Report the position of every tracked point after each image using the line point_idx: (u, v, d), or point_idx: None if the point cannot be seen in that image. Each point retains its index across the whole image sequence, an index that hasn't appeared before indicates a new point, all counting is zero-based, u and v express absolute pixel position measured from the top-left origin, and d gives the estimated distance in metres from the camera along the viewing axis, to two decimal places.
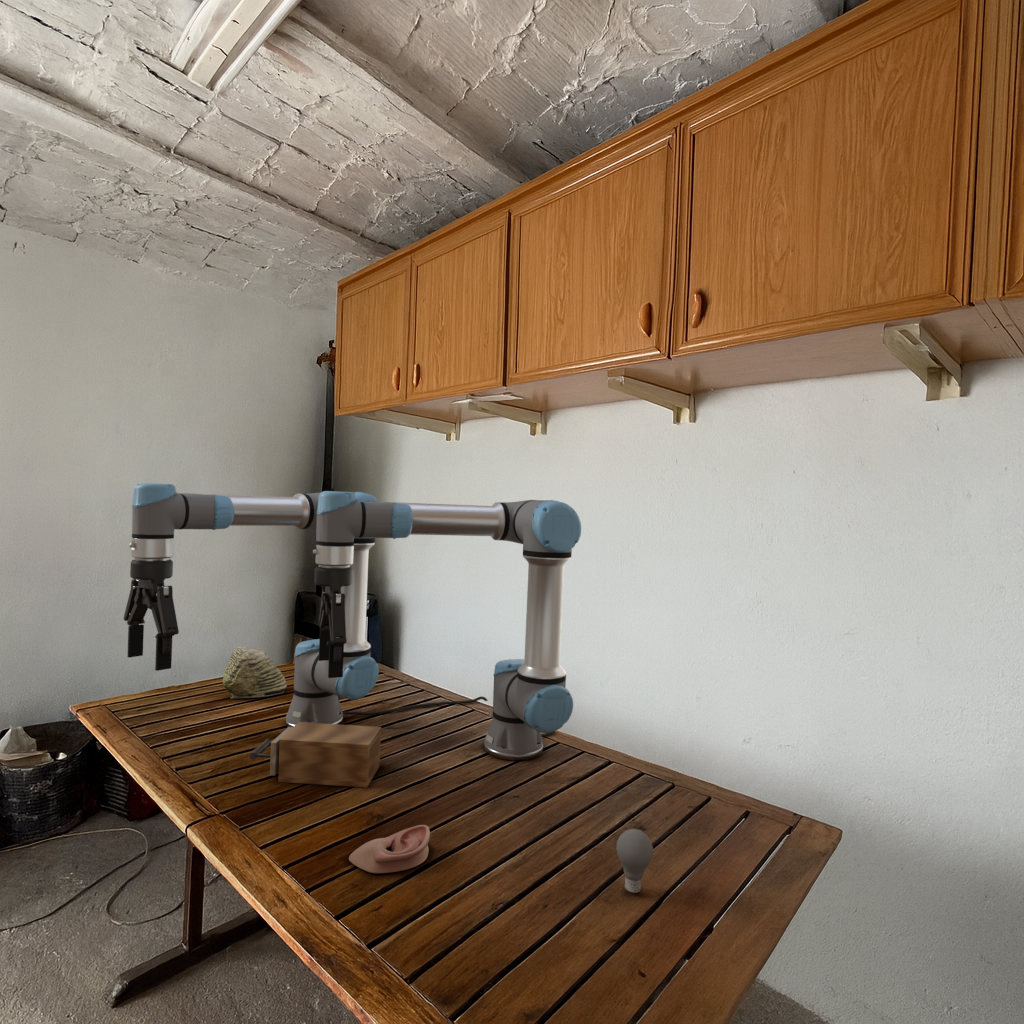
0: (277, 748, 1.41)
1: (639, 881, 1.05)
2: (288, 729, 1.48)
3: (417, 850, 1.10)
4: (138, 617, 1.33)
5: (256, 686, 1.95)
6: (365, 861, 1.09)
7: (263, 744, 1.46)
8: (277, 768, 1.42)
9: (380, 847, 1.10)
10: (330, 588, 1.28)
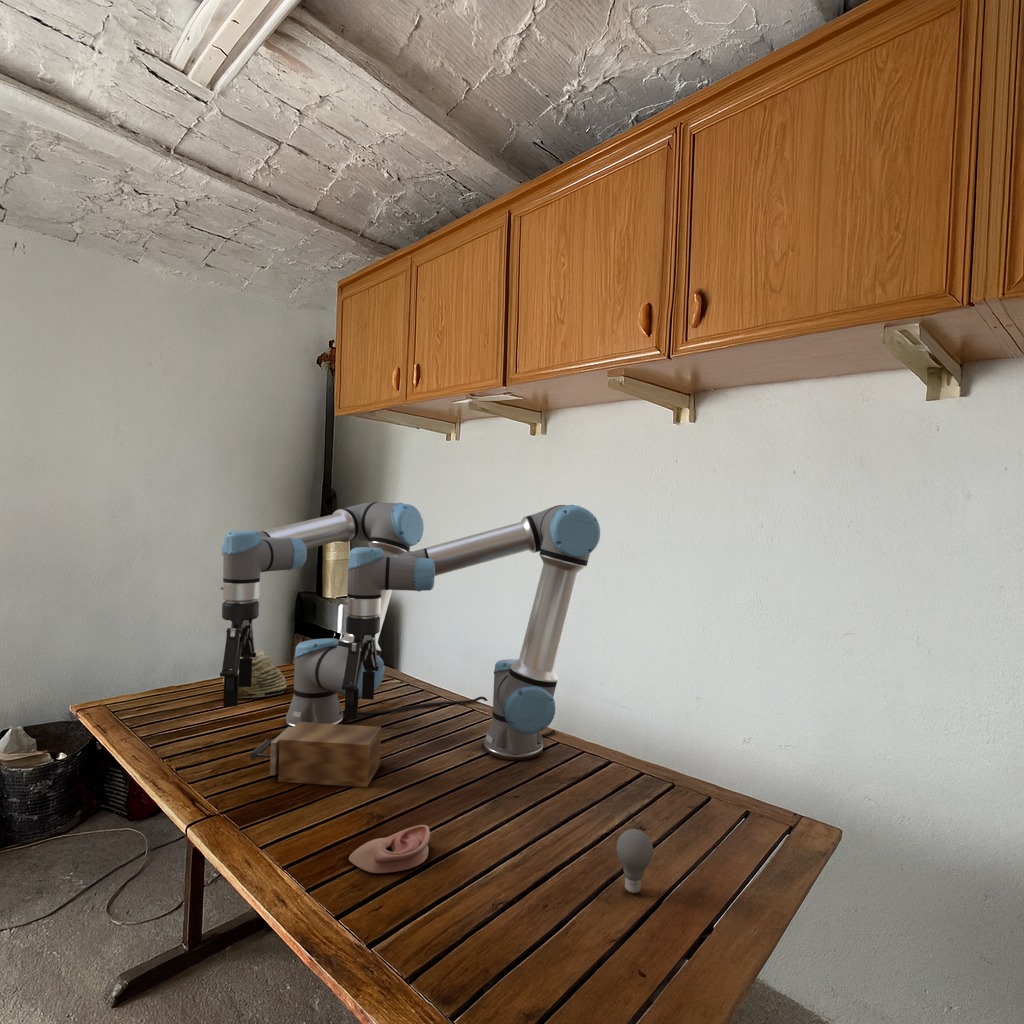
0: (277, 748, 1.41)
1: (639, 881, 1.05)
2: (288, 729, 1.48)
3: (417, 850, 1.10)
4: (245, 651, 1.46)
5: (256, 686, 1.95)
6: (365, 861, 1.09)
7: (263, 744, 1.46)
8: (277, 768, 1.42)
9: (380, 847, 1.10)
10: None
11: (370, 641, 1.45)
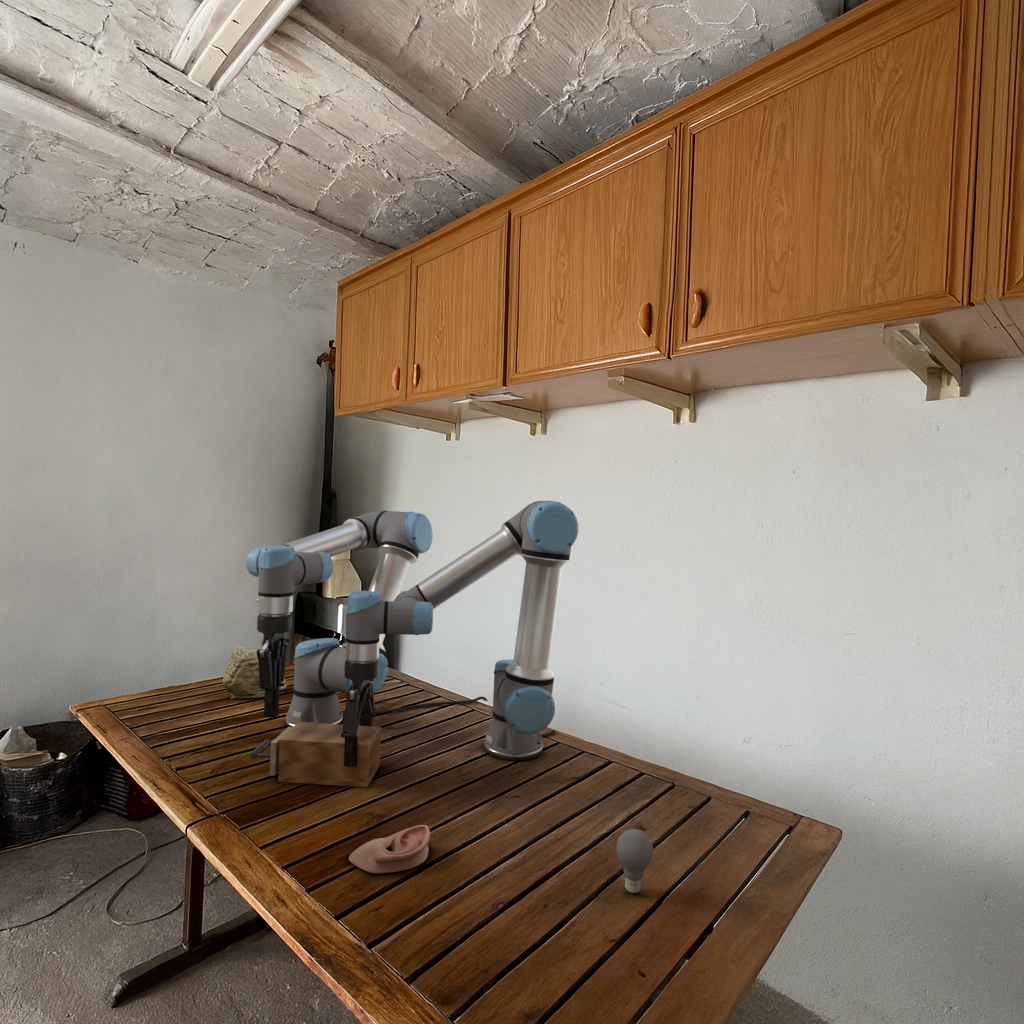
0: (277, 748, 1.41)
1: (639, 881, 1.05)
2: (288, 729, 1.48)
3: (417, 850, 1.10)
4: None
5: (256, 686, 1.95)
6: (365, 861, 1.09)
7: (263, 744, 1.46)
8: (277, 768, 1.42)
9: (380, 847, 1.10)
10: (352, 681, 1.41)
11: (368, 685, 1.45)
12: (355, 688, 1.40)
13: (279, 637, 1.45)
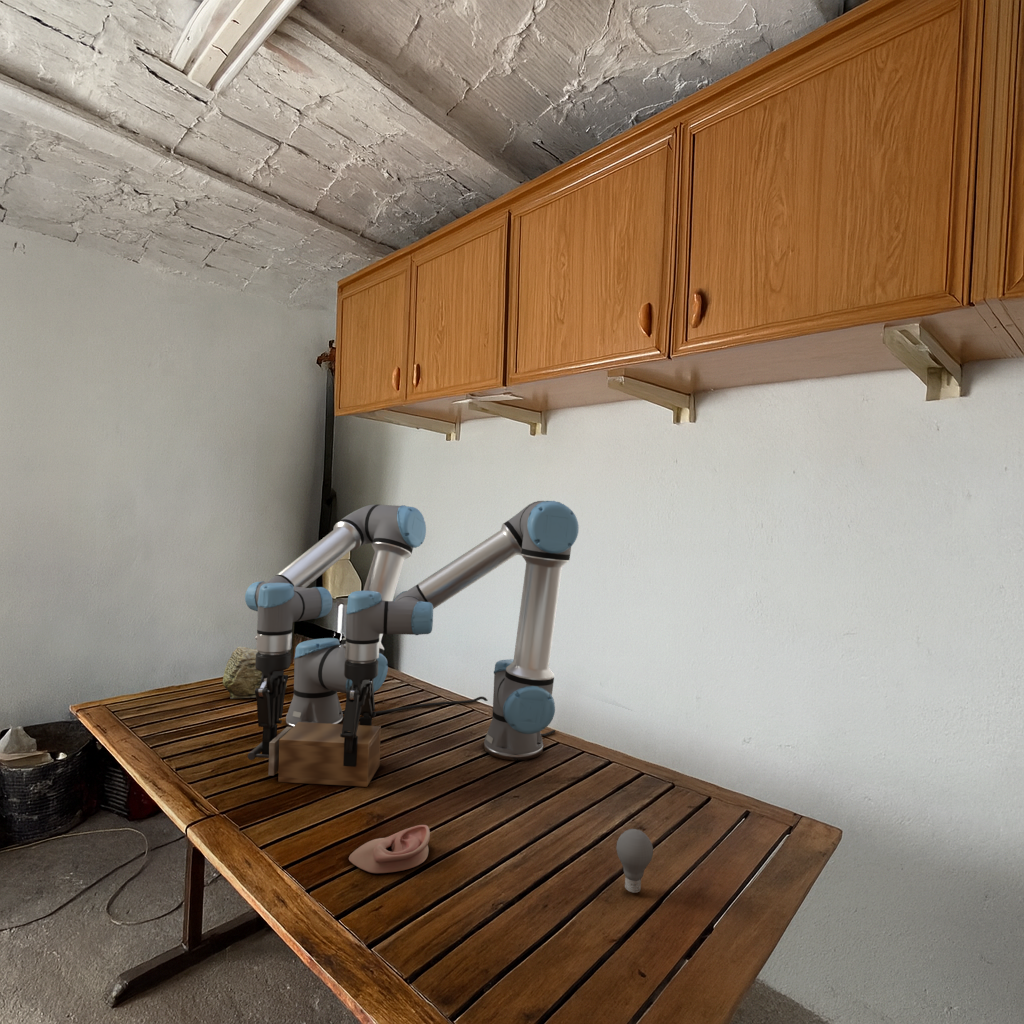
0: (275, 748, 1.41)
1: (639, 881, 1.05)
2: (286, 729, 1.48)
3: (417, 850, 1.10)
4: None
5: (256, 686, 1.95)
6: (365, 861, 1.09)
7: (261, 744, 1.46)
8: (276, 768, 1.42)
9: (380, 847, 1.10)
10: None
11: (368, 684, 1.45)
12: (355, 688, 1.40)
13: (277, 674, 1.45)
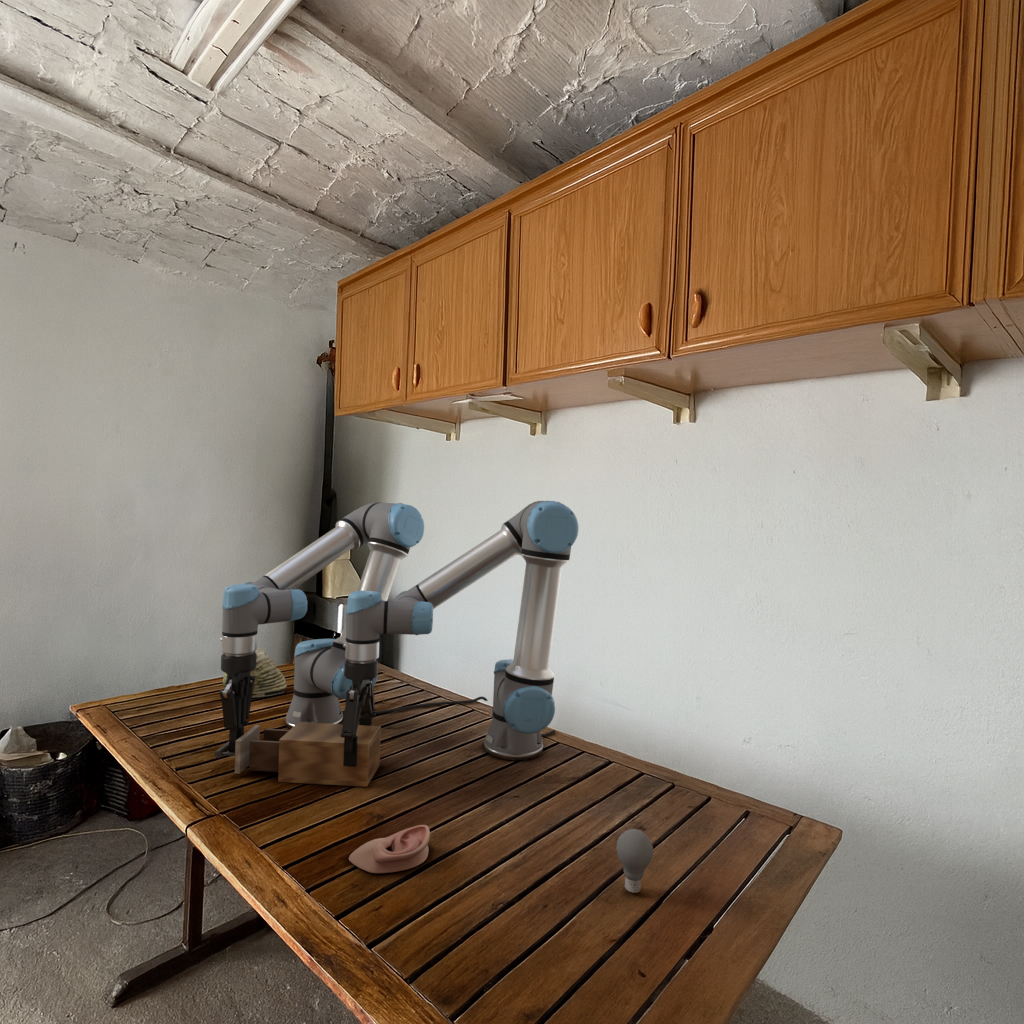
0: (242, 746, 1.42)
1: (639, 881, 1.05)
2: (254, 727, 1.49)
3: (417, 850, 1.10)
4: None
5: (256, 686, 1.95)
6: (365, 861, 1.09)
7: None
8: (242, 767, 1.42)
9: (380, 847, 1.10)
10: None
11: (368, 684, 1.45)
12: (355, 688, 1.40)
13: (243, 676, 1.46)
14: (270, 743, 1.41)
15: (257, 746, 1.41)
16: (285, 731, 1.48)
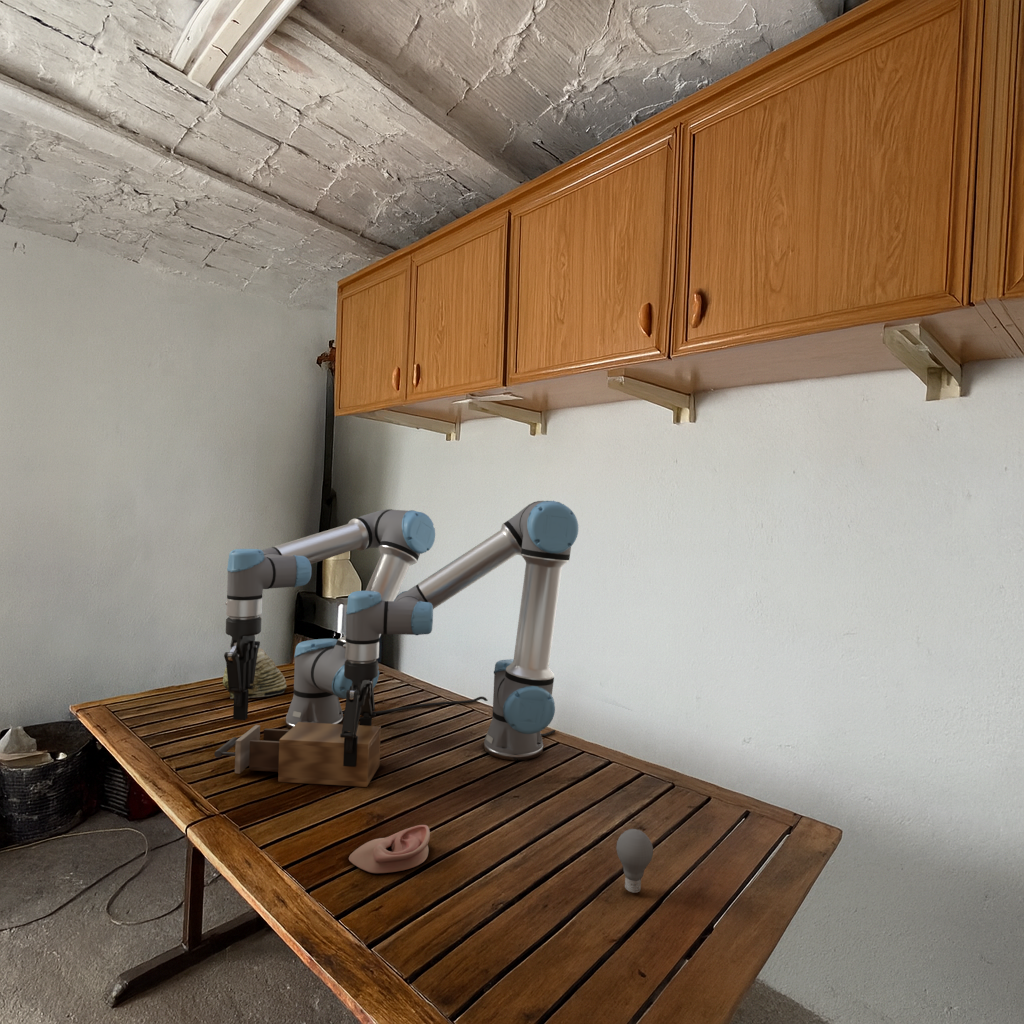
0: (242, 746, 1.42)
1: (639, 881, 1.05)
2: (255, 727, 1.49)
3: (417, 850, 1.10)
4: None
5: (256, 686, 1.95)
6: (365, 861, 1.09)
7: (229, 742, 1.47)
8: (242, 766, 1.42)
9: (380, 847, 1.10)
10: None
11: (368, 684, 1.45)
12: (355, 688, 1.40)
13: (248, 640, 1.46)
14: (270, 743, 1.41)
15: (257, 746, 1.41)
16: (285, 731, 1.49)
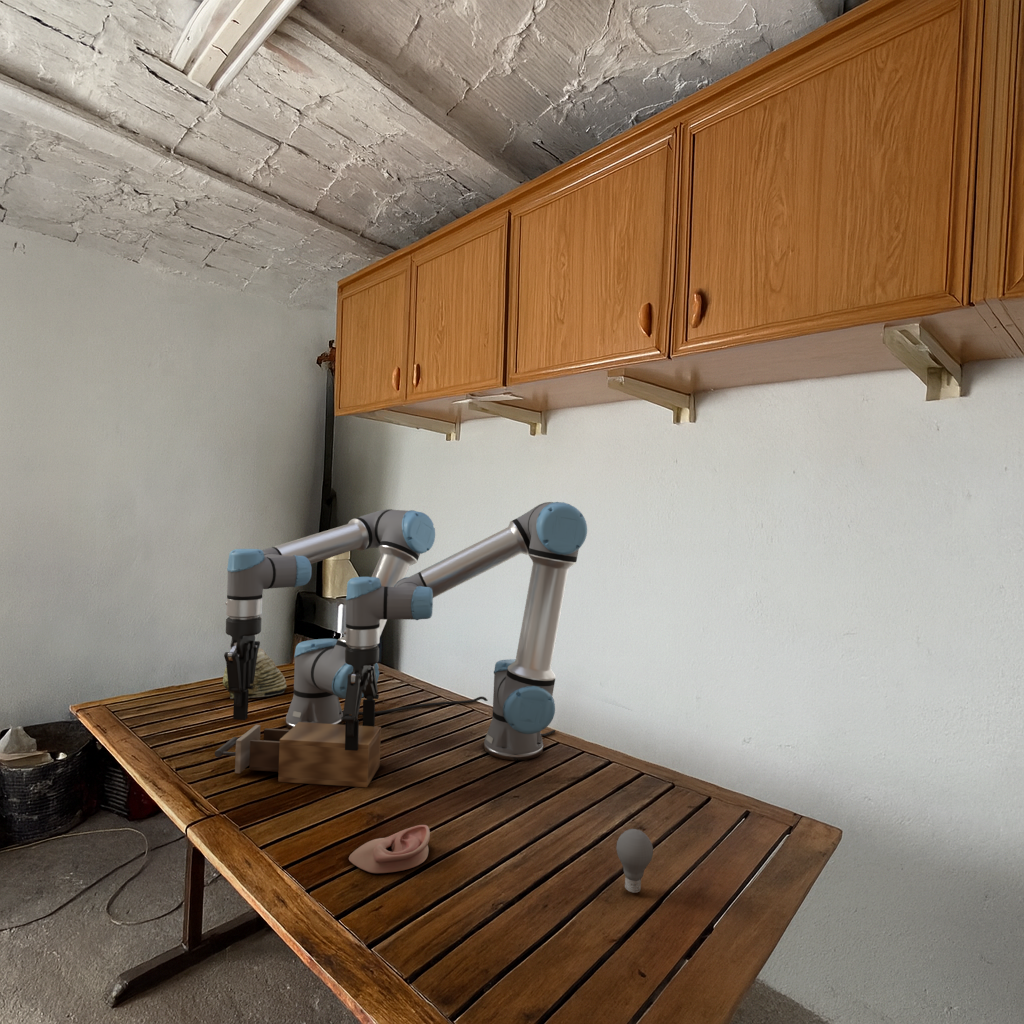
0: (242, 746, 1.42)
1: (639, 881, 1.05)
2: (255, 727, 1.49)
3: (417, 850, 1.10)
4: None
5: (256, 686, 1.95)
6: (365, 861, 1.09)
7: (230, 742, 1.47)
8: (243, 766, 1.42)
9: (380, 847, 1.10)
10: None
11: (369, 670, 1.45)
12: (356, 673, 1.40)
13: (248, 640, 1.46)
14: (270, 742, 1.41)
15: (257, 746, 1.42)
16: (285, 731, 1.49)
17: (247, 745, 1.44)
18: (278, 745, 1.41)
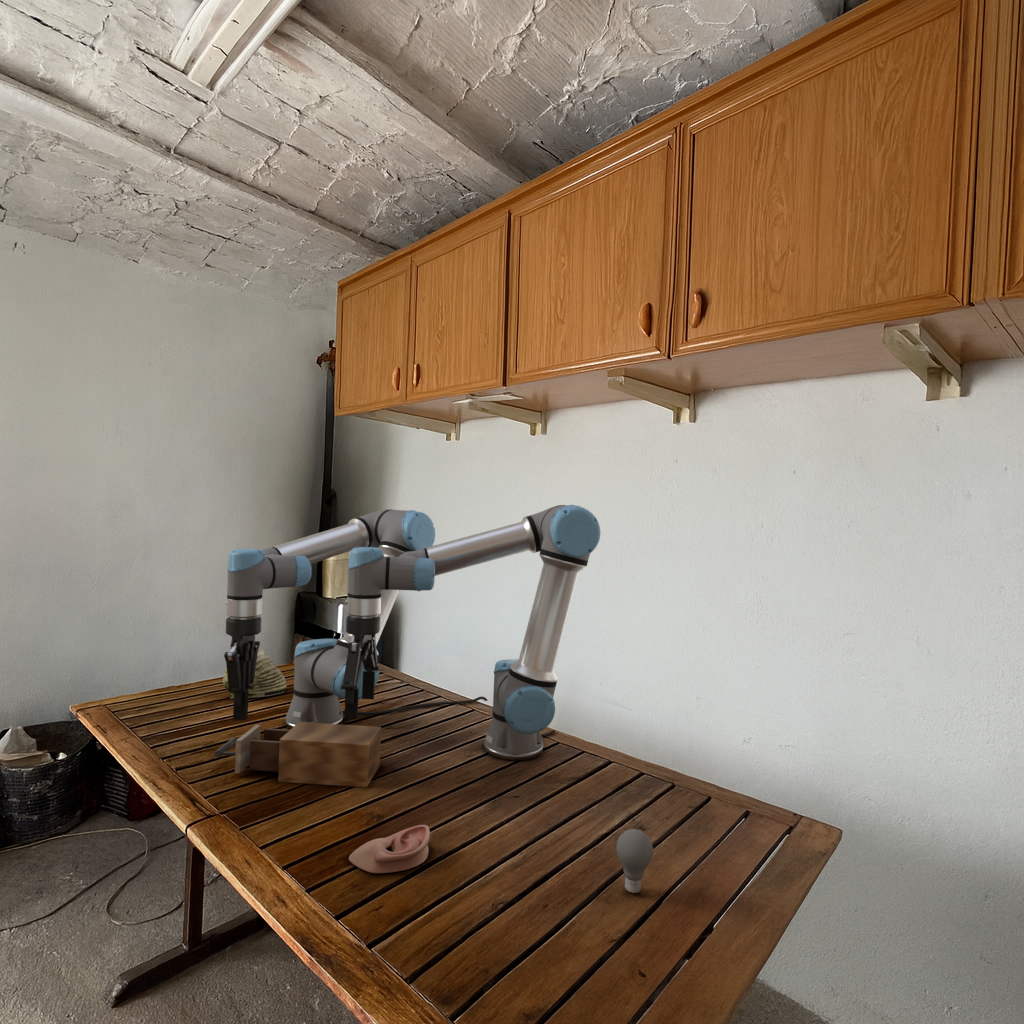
0: (242, 746, 1.42)
1: (639, 881, 1.05)
2: (255, 727, 1.49)
3: (417, 850, 1.10)
4: None
5: (256, 686, 1.95)
6: (365, 861, 1.09)
7: (230, 742, 1.47)
8: (243, 766, 1.42)
9: (380, 847, 1.10)
10: None
11: (370, 641, 1.45)
12: (357, 642, 1.40)
13: (248, 640, 1.46)
14: (270, 742, 1.41)
15: (257, 746, 1.42)
16: (285, 731, 1.49)
17: (247, 745, 1.44)
18: (278, 745, 1.41)
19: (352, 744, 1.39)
